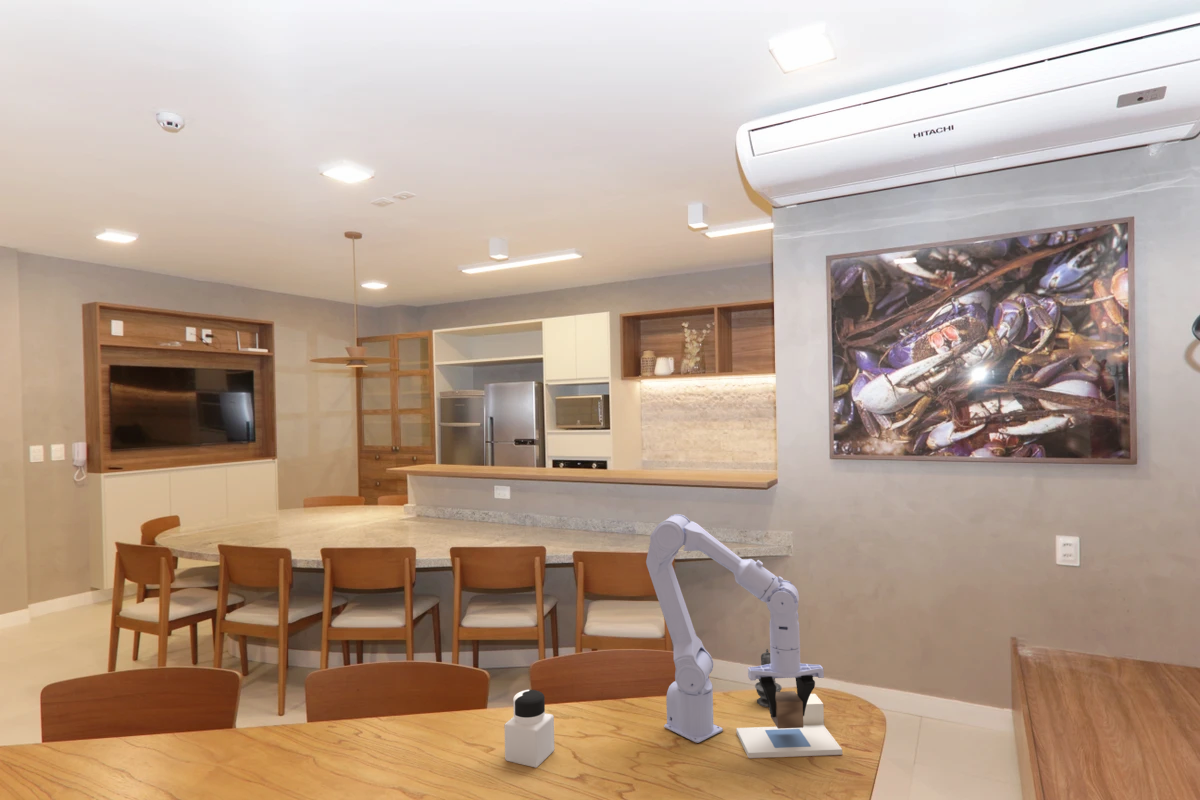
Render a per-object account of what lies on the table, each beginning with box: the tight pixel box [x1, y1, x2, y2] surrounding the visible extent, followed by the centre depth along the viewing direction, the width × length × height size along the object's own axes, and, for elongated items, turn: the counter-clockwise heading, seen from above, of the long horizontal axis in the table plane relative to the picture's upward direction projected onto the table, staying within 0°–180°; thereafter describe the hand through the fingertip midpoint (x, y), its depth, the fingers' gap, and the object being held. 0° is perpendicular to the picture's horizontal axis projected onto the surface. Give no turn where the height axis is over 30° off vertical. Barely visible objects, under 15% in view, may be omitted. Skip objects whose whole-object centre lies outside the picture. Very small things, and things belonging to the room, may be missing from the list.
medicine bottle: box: [504, 689, 555, 769], centre depth 131 cm, size 7×7×12 cm
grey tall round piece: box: [754, 648, 782, 709], centre depth 152 cm, size 6×6×12 cm
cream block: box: [803, 693, 825, 726], centre depth 142 cm, size 5×5×5 cm
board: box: [735, 724, 843, 759], centre depth 133 cm, size 18×10×1 cm, turn 92°
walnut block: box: [770, 690, 803, 729], centre depth 134 cm, size 5×5×5 cm
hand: (786, 714), depth 133 cm, fingers closed on walnut block, 5 cm apart
